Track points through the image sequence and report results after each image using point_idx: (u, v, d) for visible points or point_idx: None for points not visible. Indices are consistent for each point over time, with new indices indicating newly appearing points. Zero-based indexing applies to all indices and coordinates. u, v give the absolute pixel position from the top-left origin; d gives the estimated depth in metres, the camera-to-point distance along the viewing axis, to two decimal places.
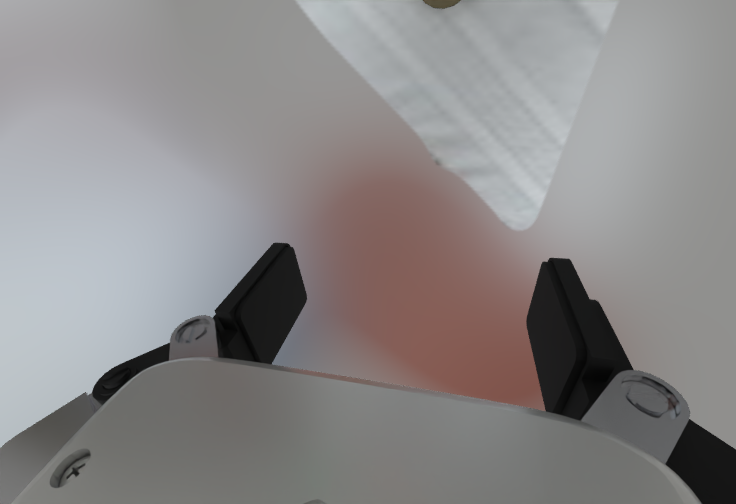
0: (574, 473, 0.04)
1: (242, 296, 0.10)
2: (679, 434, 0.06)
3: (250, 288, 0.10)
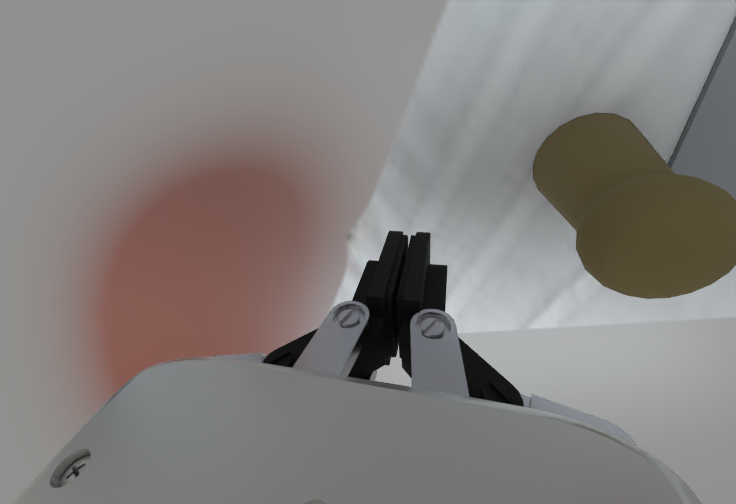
0: (574, 473, 0.04)
1: (387, 281, 0.10)
2: (457, 338, 0.08)
3: (390, 274, 0.10)
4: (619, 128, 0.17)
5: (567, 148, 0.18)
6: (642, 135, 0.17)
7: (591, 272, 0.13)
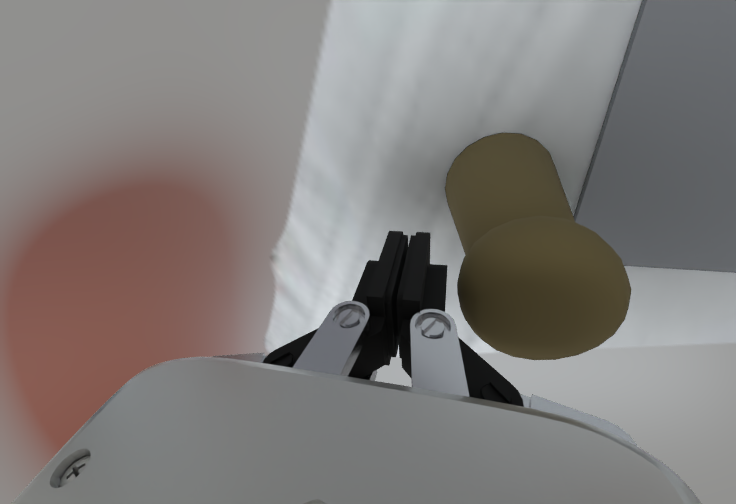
0: (574, 473, 0.04)
1: (387, 281, 0.10)
2: (457, 338, 0.08)
3: (390, 274, 0.10)
4: (519, 152, 0.15)
5: (467, 174, 0.16)
6: (545, 159, 0.15)
7: (472, 329, 0.11)
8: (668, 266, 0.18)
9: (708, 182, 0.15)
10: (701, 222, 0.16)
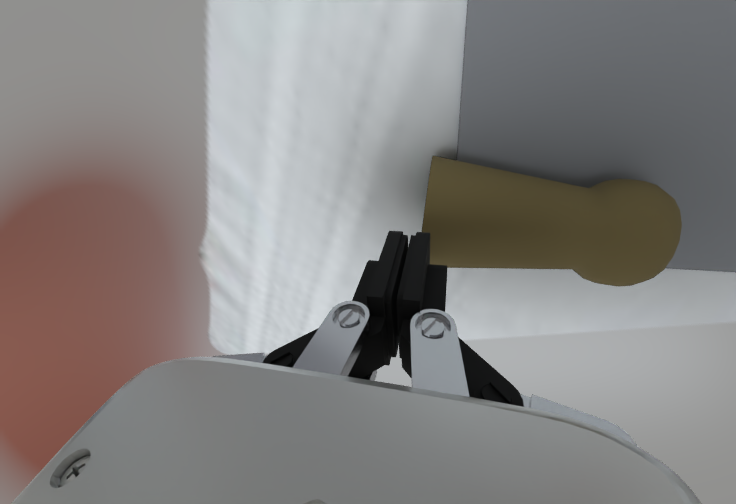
0: (574, 473, 0.04)
1: (387, 281, 0.10)
2: (457, 338, 0.08)
3: (390, 274, 0.10)
4: (479, 168, 0.15)
5: (485, 212, 0.14)
6: None
7: None
8: None
9: None
10: None
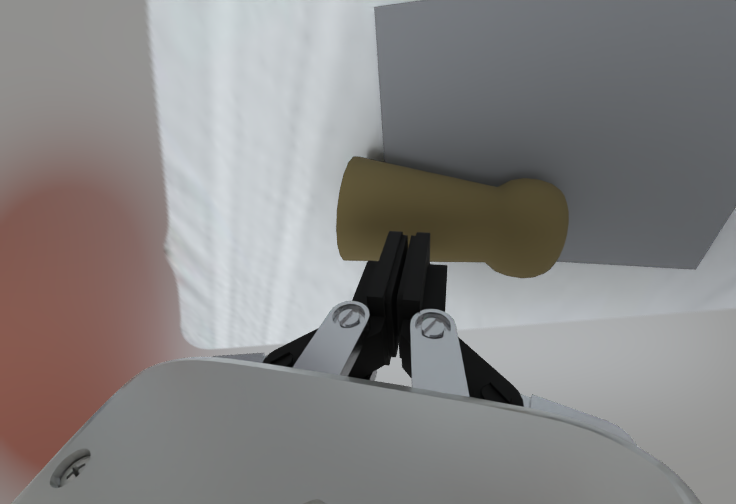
0: (574, 473, 0.04)
1: (387, 281, 0.10)
2: (457, 338, 0.08)
3: (390, 274, 0.10)
4: (394, 168, 0.16)
5: (392, 208, 0.15)
6: (393, 165, 0.17)
7: (535, 275, 0.16)
8: None
9: (473, 181, 0.18)
10: None
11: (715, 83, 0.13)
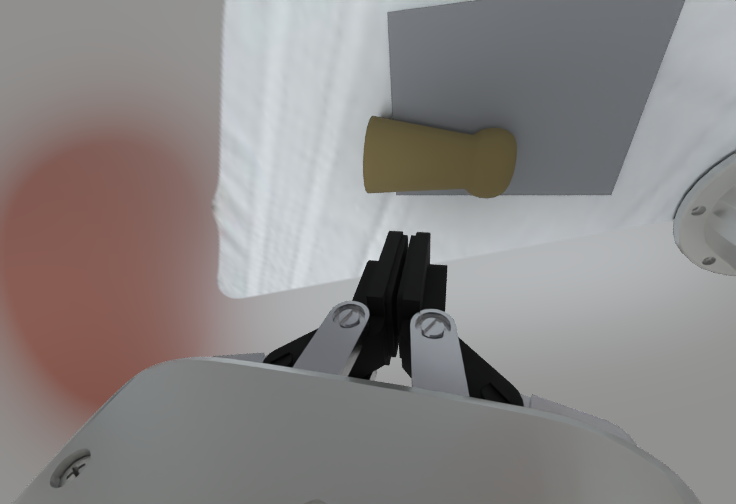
0: (574, 473, 0.04)
1: (387, 281, 0.10)
2: (457, 338, 0.08)
3: (390, 274, 0.10)
4: (401, 122, 0.23)
5: (401, 147, 0.22)
6: None
7: (497, 193, 0.23)
8: (457, 194, 0.29)
9: None
10: None
11: (605, 61, 0.21)
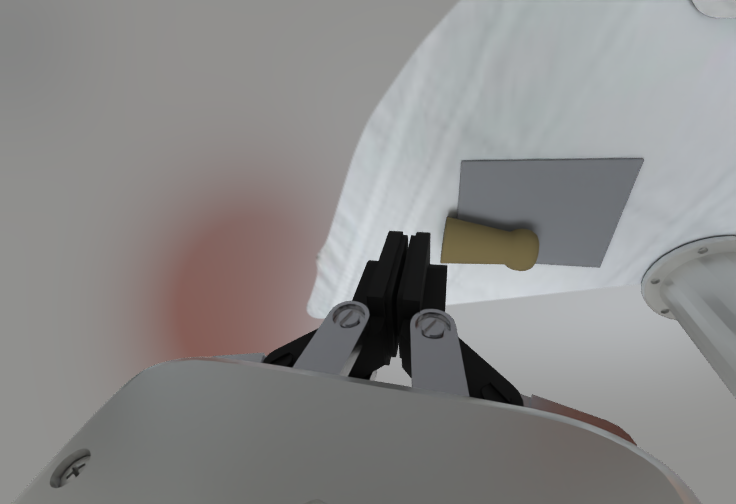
0: (574, 473, 0.04)
1: (387, 281, 0.10)
2: (457, 338, 0.08)
3: (390, 274, 0.10)
4: (466, 223, 0.38)
5: (467, 242, 0.37)
6: None
7: (526, 269, 0.37)
8: None
9: (498, 227, 0.40)
10: None
11: (594, 196, 0.35)
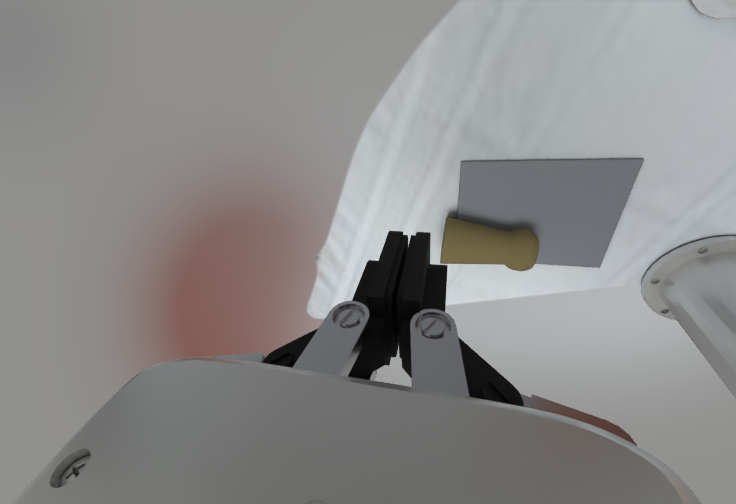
0: (574, 473, 0.04)
1: (387, 281, 0.10)
2: (457, 338, 0.08)
3: (390, 274, 0.10)
4: (466, 224, 0.38)
5: (467, 242, 0.37)
6: None
7: None
8: None
9: (498, 227, 0.40)
10: None
11: (594, 196, 0.35)
